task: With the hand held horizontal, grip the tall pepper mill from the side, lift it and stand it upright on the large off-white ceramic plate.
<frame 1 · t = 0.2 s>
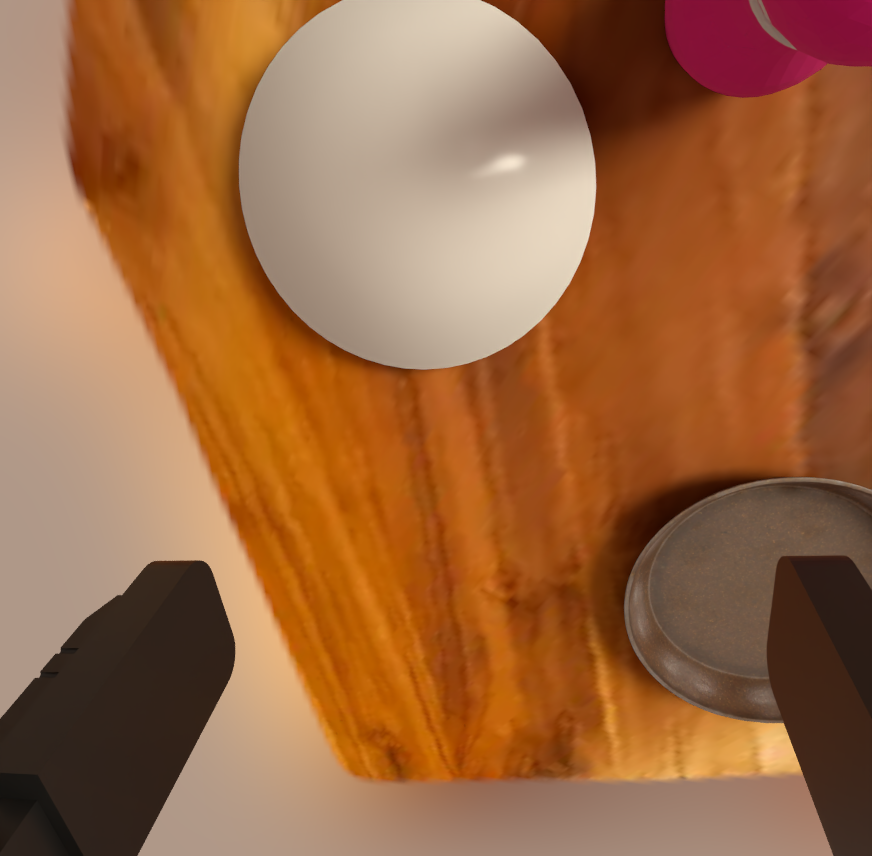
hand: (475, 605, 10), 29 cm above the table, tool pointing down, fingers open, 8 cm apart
pepper mill: (737, 6, 30), on the table
plate: (417, 194, 35), on the table
plant saucer: (766, 578, 42), on the table
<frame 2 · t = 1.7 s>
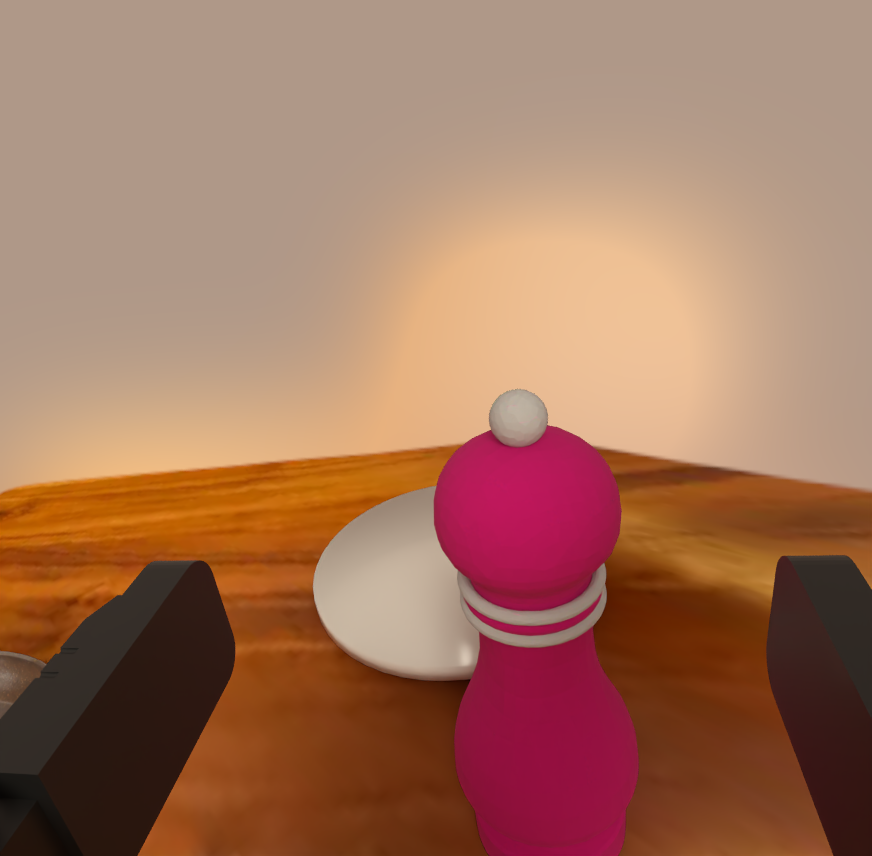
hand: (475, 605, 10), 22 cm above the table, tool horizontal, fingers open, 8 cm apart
pepper mill: (550, 820, 29), on the table
plate: (457, 580, 44), on the table
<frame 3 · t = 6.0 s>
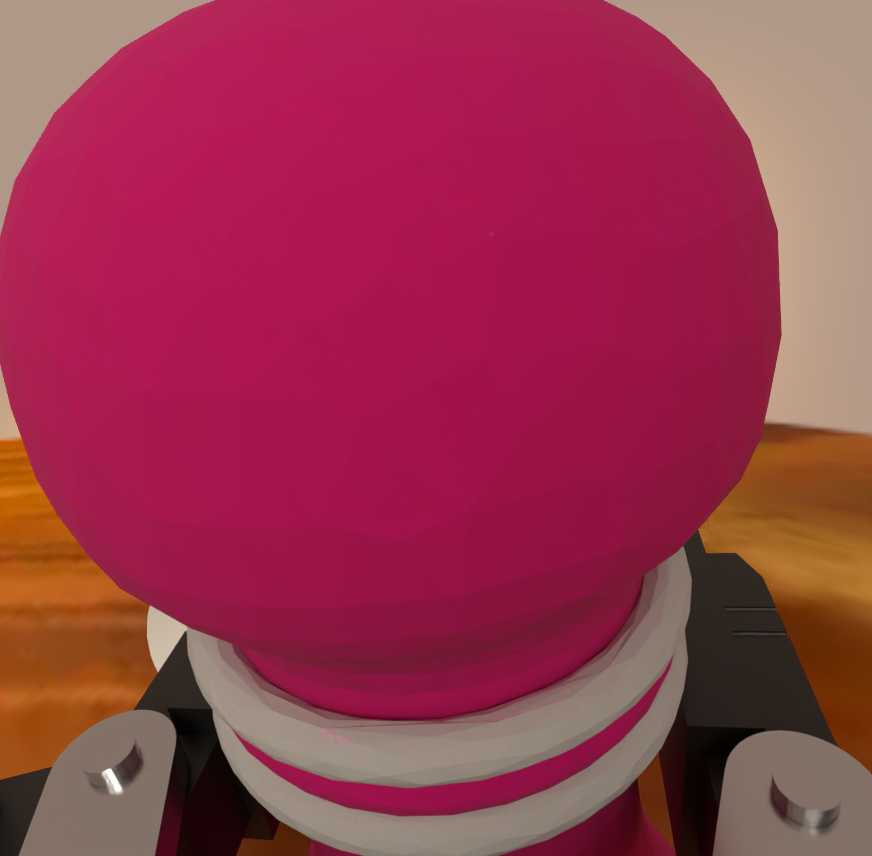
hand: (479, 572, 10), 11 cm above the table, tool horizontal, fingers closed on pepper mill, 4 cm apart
plate: (390, 586, 28), on the table
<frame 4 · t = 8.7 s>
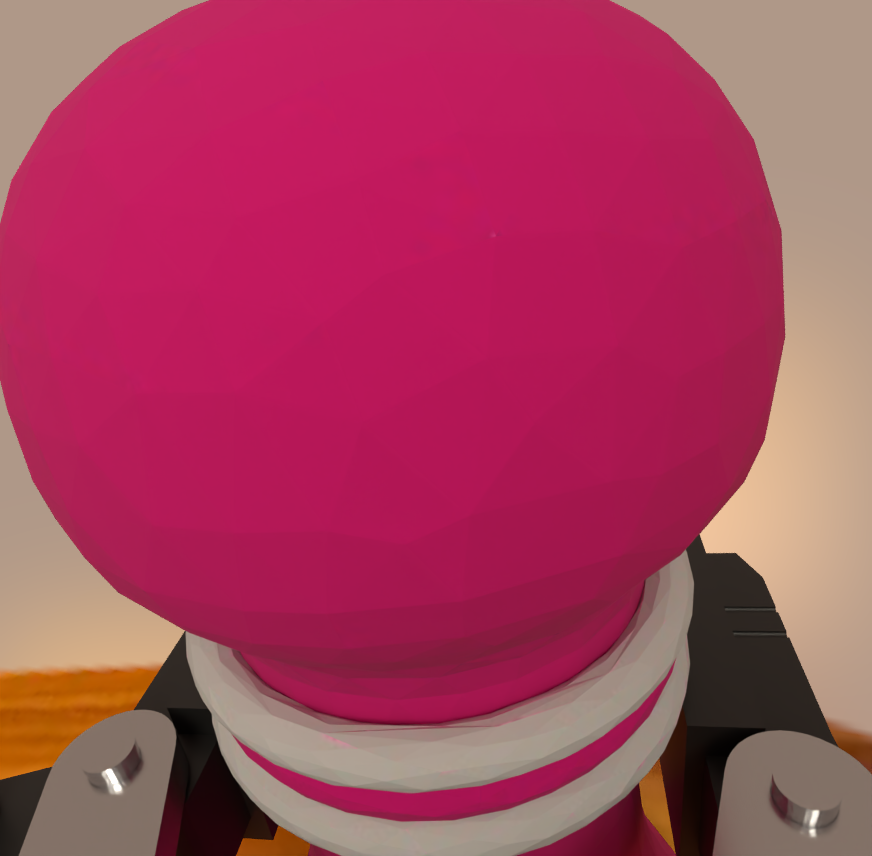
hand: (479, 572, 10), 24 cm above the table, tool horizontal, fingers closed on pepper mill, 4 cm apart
when the fingers open (14 cm above the table, at t = 11.5 s): pepper mill moves 4 cm, resting on plate.
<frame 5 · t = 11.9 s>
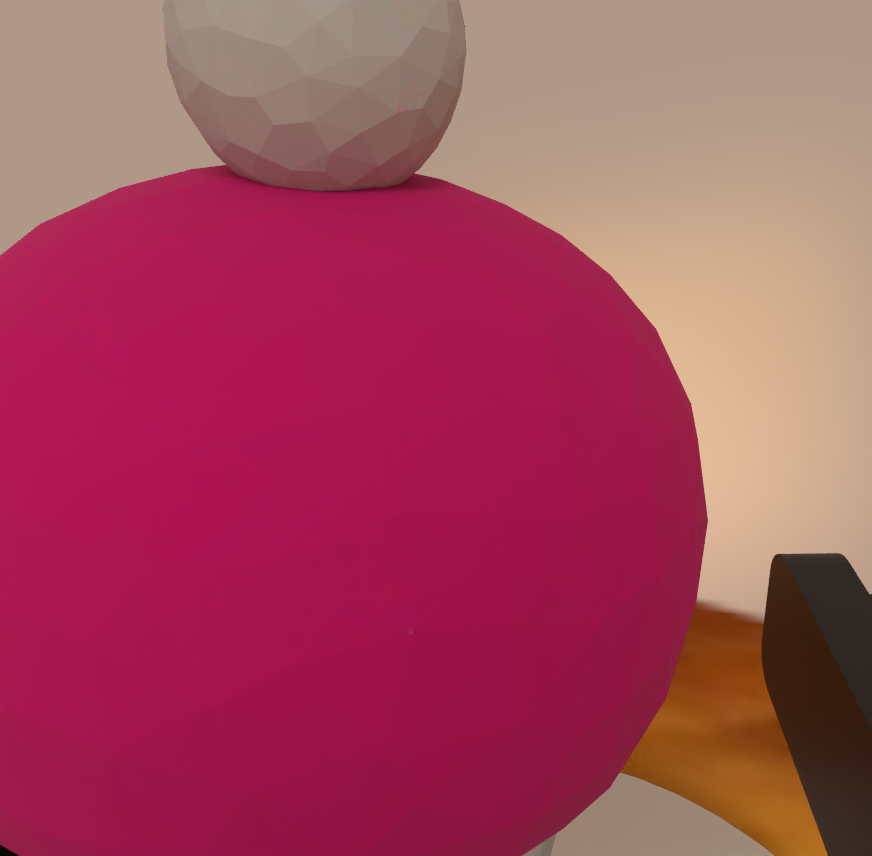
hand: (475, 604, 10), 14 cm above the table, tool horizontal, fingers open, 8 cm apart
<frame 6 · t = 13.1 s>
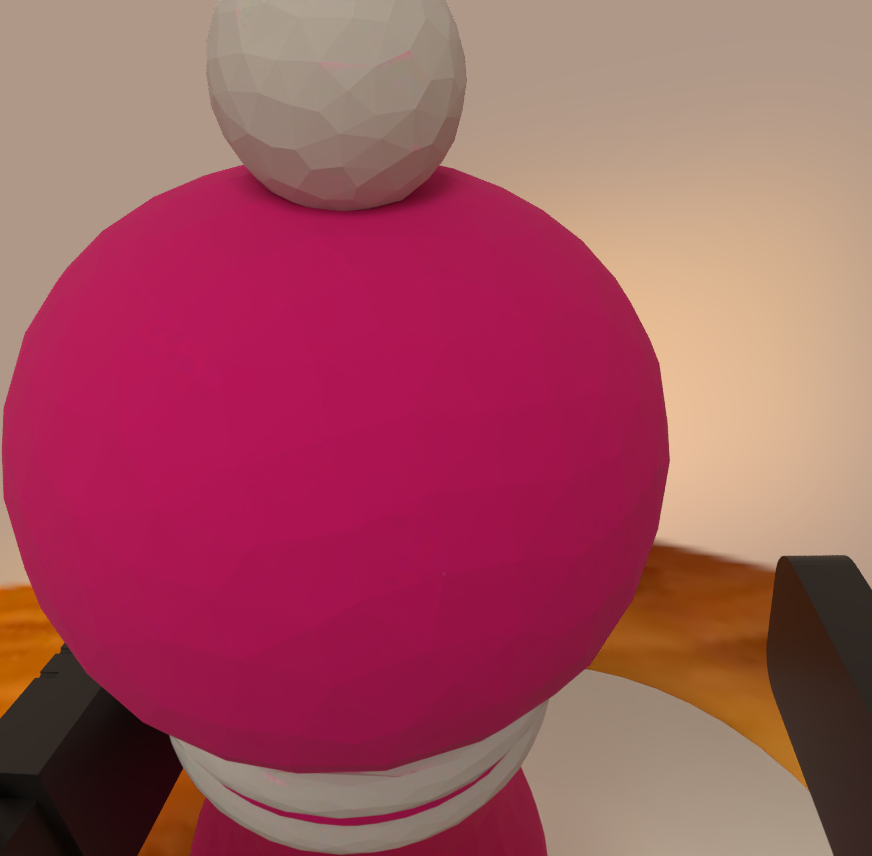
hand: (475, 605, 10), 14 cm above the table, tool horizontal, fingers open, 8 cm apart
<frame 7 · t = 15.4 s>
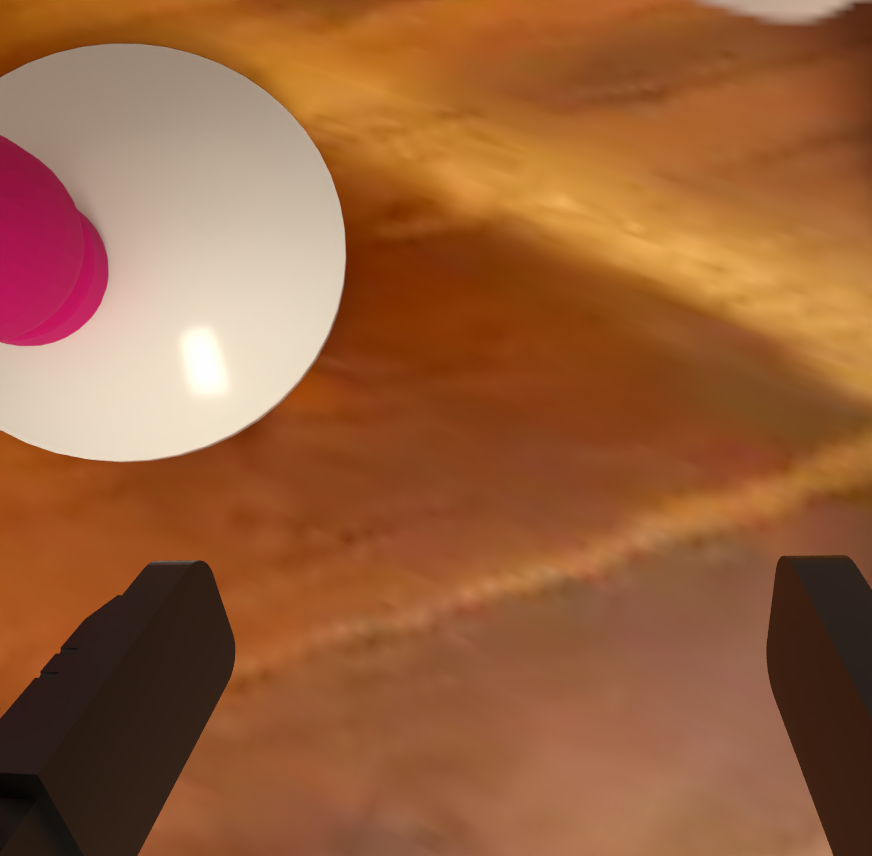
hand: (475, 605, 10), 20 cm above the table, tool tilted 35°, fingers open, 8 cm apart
pepper mill: (32, 271, 28), point 2 cm above the table, touching plate
plate: (142, 260, 30), on the table
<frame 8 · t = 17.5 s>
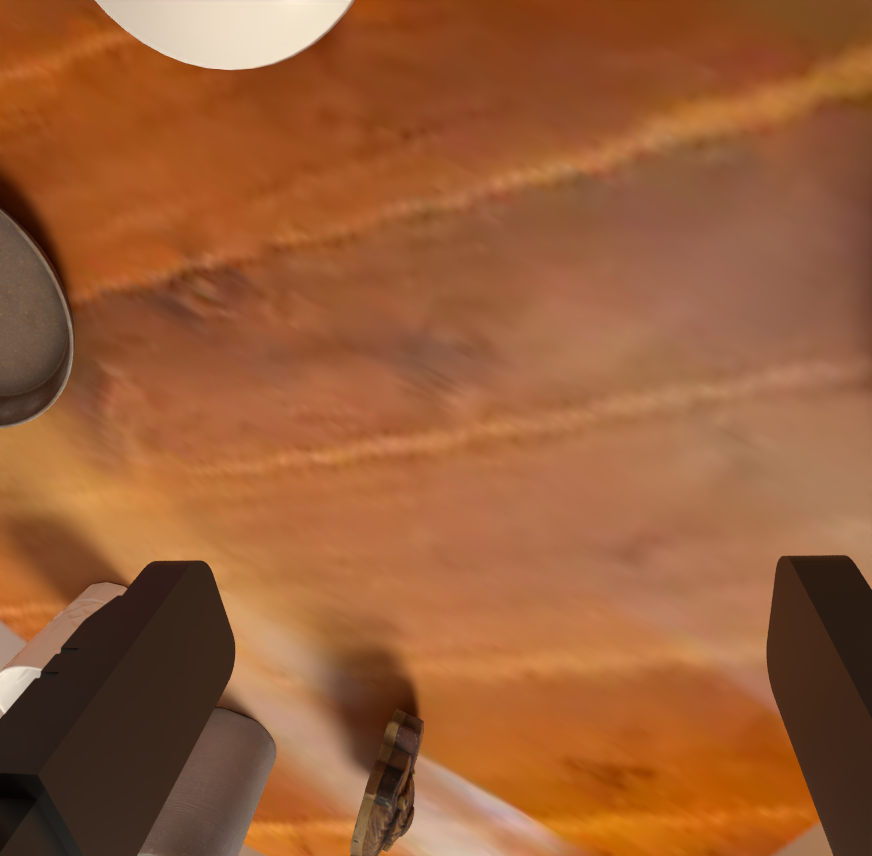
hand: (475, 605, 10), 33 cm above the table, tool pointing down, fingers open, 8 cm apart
white cup: (119, 610, 59), on the table
pillar candle: (230, 739, 65), on the table
wooden carving: (401, 738, 61), on the table
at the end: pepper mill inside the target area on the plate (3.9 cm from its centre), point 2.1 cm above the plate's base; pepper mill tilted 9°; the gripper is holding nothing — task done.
